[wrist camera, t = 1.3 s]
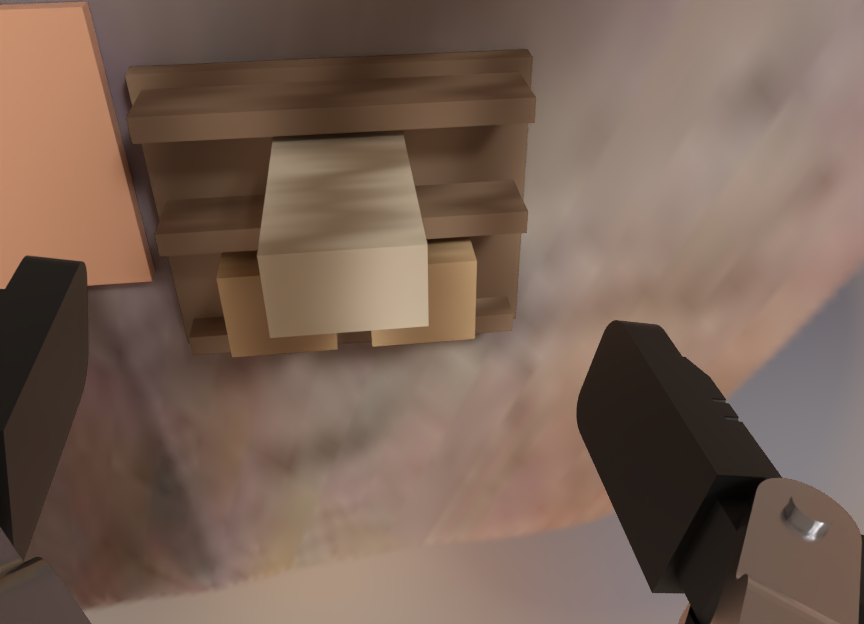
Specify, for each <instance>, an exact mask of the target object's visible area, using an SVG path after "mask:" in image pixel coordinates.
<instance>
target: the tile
mask: <svg viewBox="0 0 864 624" xmlns="http://www.w3.org/2000/svg"><path fill="white" fill-rule="evenodd" d="M27 255H29V256H38V257H47V258H56V259H65V260H75V261H83V262H84V263H85V265H86V269H87V286H90V285H105V284H119V283H134V282H149V281H152V280H153V277H154V274H155V269H154V265H153V261H152V257H151V253H150V249H149V245H148V241H147V237H146V233H145V229H144V225H143V221H142V217H141V213H140V209H139V205H138V201H137V197H136V193H135V189H134V185H133V181H132V177H131V173H130V169H129V165H128V161H127V157H126V153H125V149H124V145H123V141H122V137H121V133H120V129H119V125H118V121H117V117H116V113H115V109H114V105H113V101H112V98H111V94H110V90H109V86H108V82H107V78H106V74H105V70H104V66H103V62H102V58H101V54H100V50H99V46H98V42H97V38H96V34H95V30H94V26H93V22H92V18H91V14H90V10H89V6H88V2H62V3H34V4H7V5H0V289H5V288H6V286H7V285H8V283H9V281H10V279H11V278H12V276H13V274H14V273H15V271H16V269H17V268H18V266H19V264H20V262H21V261H22V259H23V258H24V257H25V256H27Z"/></svg>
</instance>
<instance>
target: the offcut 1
mask: <svg viewBox="0 0 864 624" xmlns="http://www.w3.org/2000/svg"><path fill="white" fill-rule="evenodd" d="M257 252H258V250H253V251H238V252H222V254H221V259H220V264H219V269H218V273H217V278H216V279H217V284H218V289H219V294H220V299H221V304H222V309H223V314H224V319H225V324H226V329H227V334H228V339H229V344H230V349H231V354H232V357H245V356H258V355H271V354H284V353H297V352H310V351H323V350H336V349H338V339H337V333H331V334H318V335H304V336H291V337H278V338H270V334H269V327H268V321H267V315H266V309H265V302H264V296H263V290H262V284H261V277H260V271H259V265H258V259H257Z"/></svg>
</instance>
